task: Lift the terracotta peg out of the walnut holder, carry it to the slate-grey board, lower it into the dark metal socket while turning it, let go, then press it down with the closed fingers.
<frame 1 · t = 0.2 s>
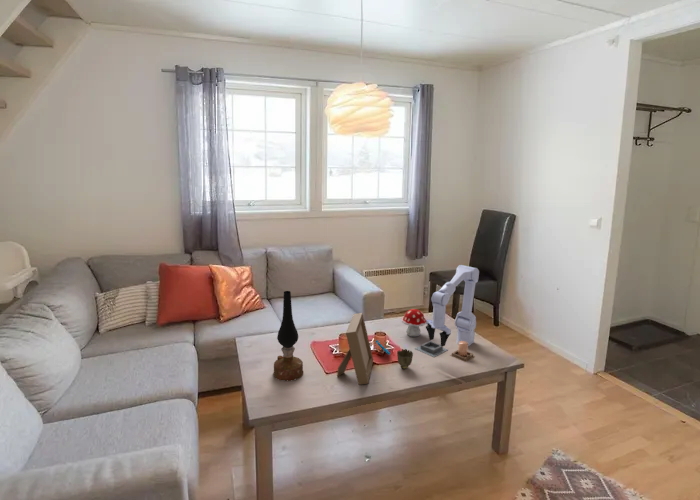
hand: (437, 342, 204), 10 cm above the table, tool pointing down, fingers open, 7 cm apart
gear: (382, 353, 213), on the table
photo frame: (354, 372, 195), on the table
peg: (462, 355, 210), point 1 cm above the table, touching holder
decorative mushroom: (413, 334, 236), on the table
holder: (462, 357, 210), on the table
oil lamp: (288, 373, 193), on the table
cup: (404, 368, 199), on the table
socket board: (431, 351, 217), on the table
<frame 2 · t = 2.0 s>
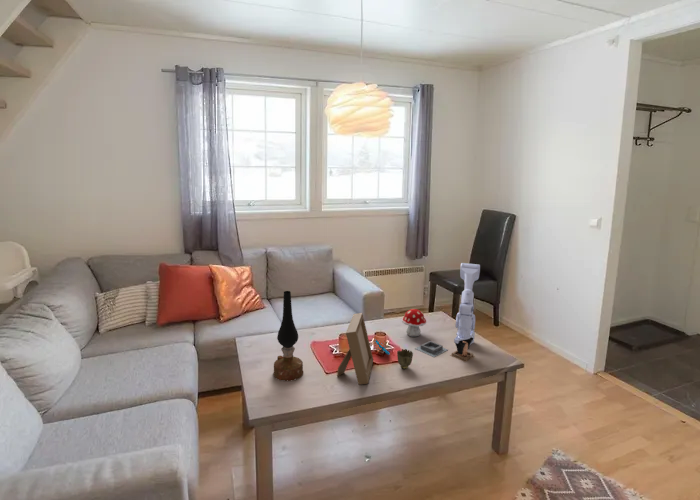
hand: (462, 352, 210), 3 cm above the table, tool pointing down, fingers closed on peg, 4 cm apart
peg: (462, 355, 210), point 1 cm above the table, touching gripper, holder
everything else where it was.
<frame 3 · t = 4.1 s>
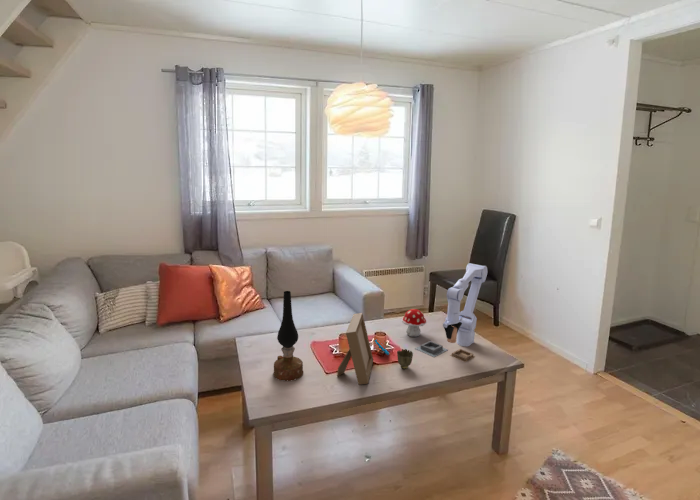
hand: (451, 337, 211), 10 cm above the table, tool pointing down, fingers closed on peg, 4 cm apart
peg: (451, 340, 211), point 8 cm above the table, touching gripper
everything else where it was.
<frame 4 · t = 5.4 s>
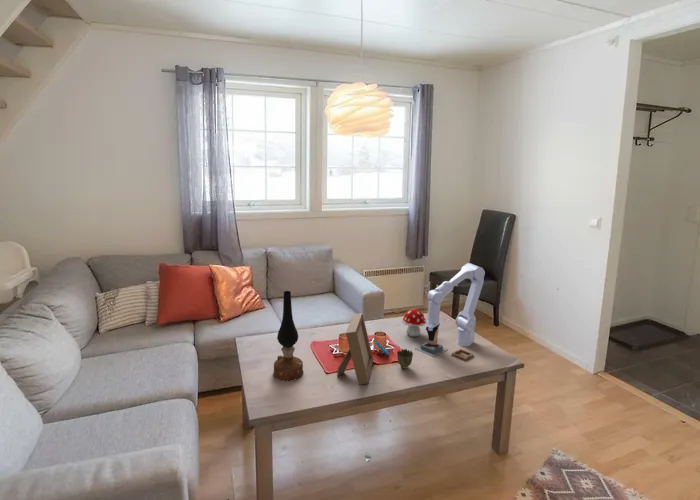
hand: (432, 338, 215), 7 cm above the table, tool pointing down, fingers closed on peg, 4 cm apart
peg: (432, 342, 216), point 5 cm above the table, touching gripper
everything else where it was.
when the fingers open (5 cm above the table, at t = 6.4 s): peg drops 1 cm, resting on socket board.
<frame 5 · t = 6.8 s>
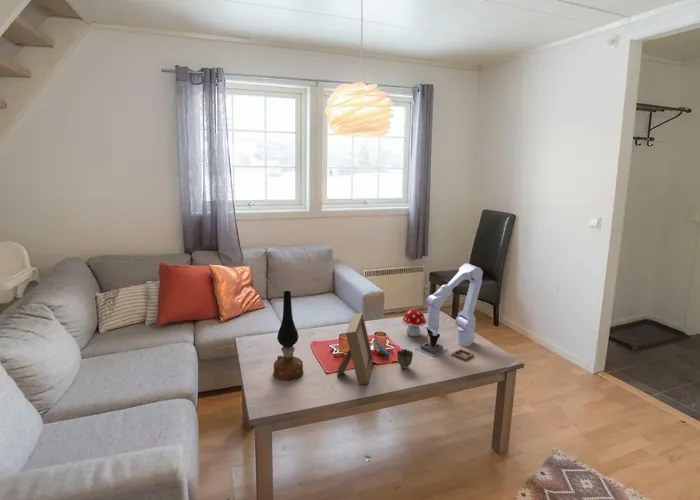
hand: (431, 342, 216), 5 cm above the table, tool pointing down, fingers open, 7 cm apart
peg: (432, 349, 216), point 1 cm above the table, touching socket board
everything else where it was.
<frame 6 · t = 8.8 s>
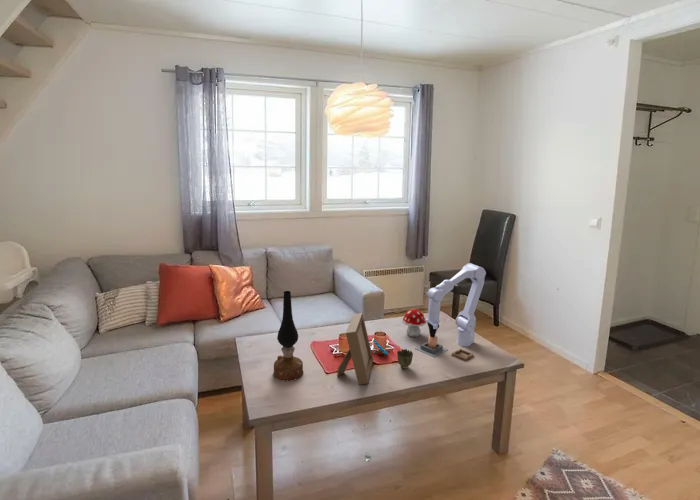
hand: (432, 336, 215), 8 cm above the table, tool pointing down, fingers closed, pressing on peg
peg: (432, 349, 216), point 1 cm above the table, touching gripper, socket board
everything else where it was.
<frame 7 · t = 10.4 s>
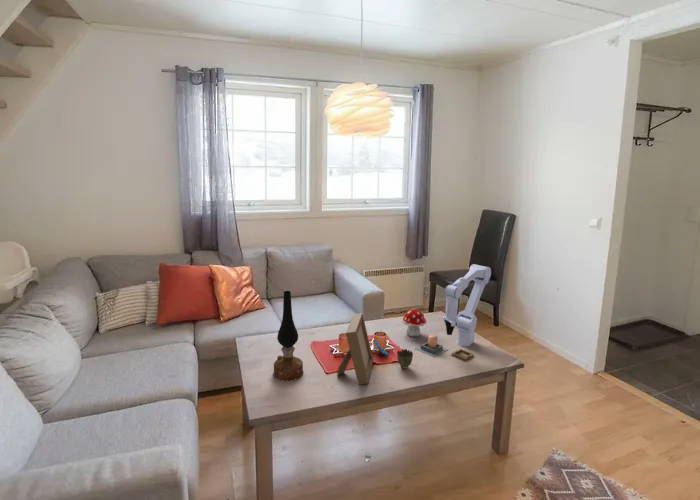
hand: (449, 334, 212), 10 cm above the table, tool pointing down, fingers closed
peg: (432, 349, 216), point 1 cm above the table, touching socket board
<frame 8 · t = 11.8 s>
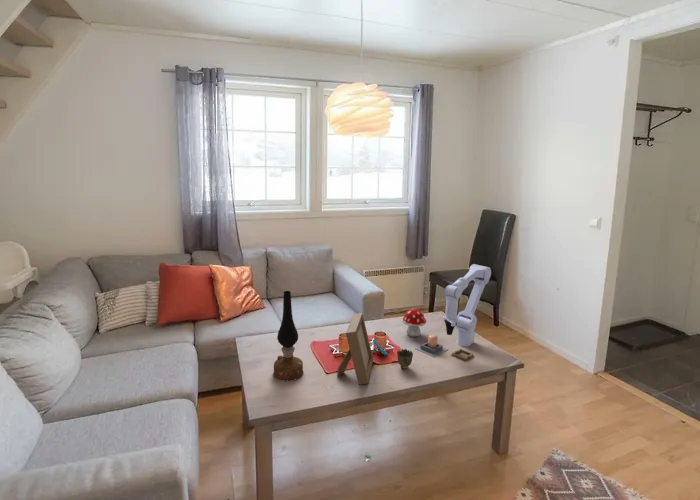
hand: (449, 334, 212), 10 cm above the table, tool pointing down, fingers closed
at the end: peg 0.4 cm off-centre on the socket board, point 1.2 cm above the socket board's base; peg tilted 0°; the gripper is holding nothing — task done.
